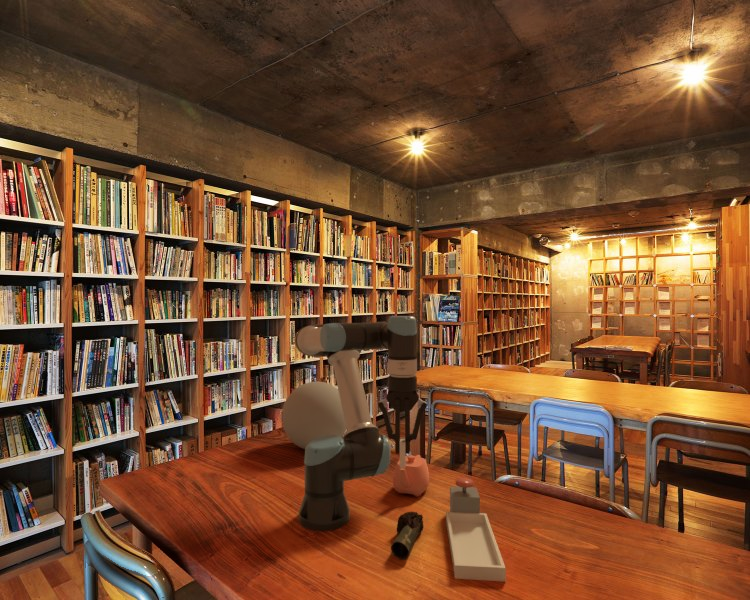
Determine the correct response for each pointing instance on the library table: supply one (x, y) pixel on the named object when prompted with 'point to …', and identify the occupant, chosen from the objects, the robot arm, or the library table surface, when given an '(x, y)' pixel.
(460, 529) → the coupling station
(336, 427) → the sphere
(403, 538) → the metal pipe
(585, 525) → the library table surface
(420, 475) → the teapot
